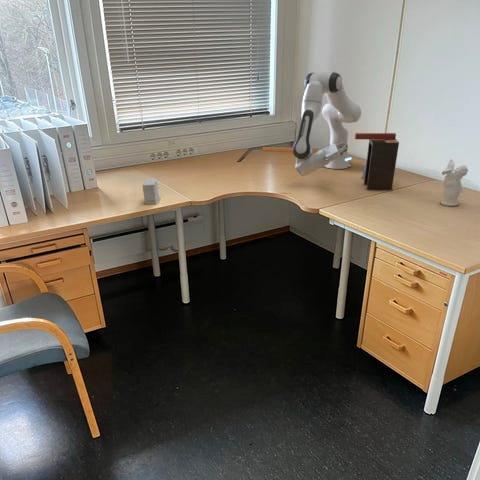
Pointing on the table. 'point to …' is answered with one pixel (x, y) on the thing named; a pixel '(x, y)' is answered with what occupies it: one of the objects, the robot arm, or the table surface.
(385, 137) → the red block
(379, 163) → the stand
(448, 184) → the cherub figurine
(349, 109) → the robot arm
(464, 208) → the table surface
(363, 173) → the medicine box
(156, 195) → the cosmetics box
